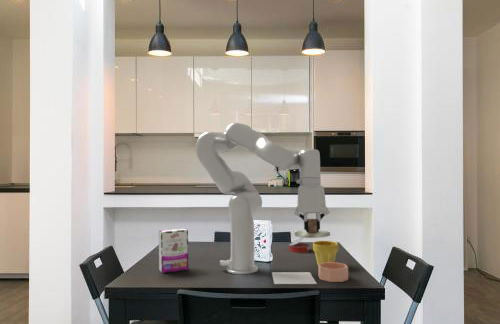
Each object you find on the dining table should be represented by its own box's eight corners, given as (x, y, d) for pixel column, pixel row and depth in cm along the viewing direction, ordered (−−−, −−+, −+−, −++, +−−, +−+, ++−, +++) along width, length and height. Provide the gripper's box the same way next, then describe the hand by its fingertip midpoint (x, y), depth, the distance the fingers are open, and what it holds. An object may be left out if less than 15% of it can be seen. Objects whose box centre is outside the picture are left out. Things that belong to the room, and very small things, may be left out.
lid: (296, 238, 139) (296, 221, 139) (293, 232, 152) (292, 217, 152) (333, 237, 139) (332, 220, 139) (326, 231, 152) (325, 216, 152)
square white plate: (274, 285, 138) (274, 283, 138) (271, 273, 153) (271, 272, 153) (316, 285, 138) (316, 283, 138) (309, 273, 153) (309, 272, 153)
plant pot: (319, 270, 158) (319, 246, 158) (309, 264, 168) (309, 241, 168) (342, 268, 161) (342, 244, 161) (330, 262, 171) (330, 240, 171)
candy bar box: (184, 267, 163) (185, 228, 163) (188, 270, 158) (188, 229, 159) (158, 270, 158) (158, 229, 158) (161, 273, 153) (161, 231, 154)
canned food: (301, 262, 190) (296, 246, 187) (287, 256, 198) (281, 240, 195) (316, 249, 196) (311, 233, 193) (301, 244, 204) (296, 228, 201)
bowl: (322, 283, 140) (322, 269, 140) (316, 275, 151) (316, 262, 151) (350, 282, 141) (350, 269, 141) (343, 275, 151) (343, 262, 151)
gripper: (289, 183, 142) (291, 233, 142) (334, 181, 142) (336, 232, 142) (287, 182, 150) (289, 230, 149) (330, 181, 150) (332, 229, 149)
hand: (312, 231), depth 145 cm, fingers closed on lid, 3 cm apart
